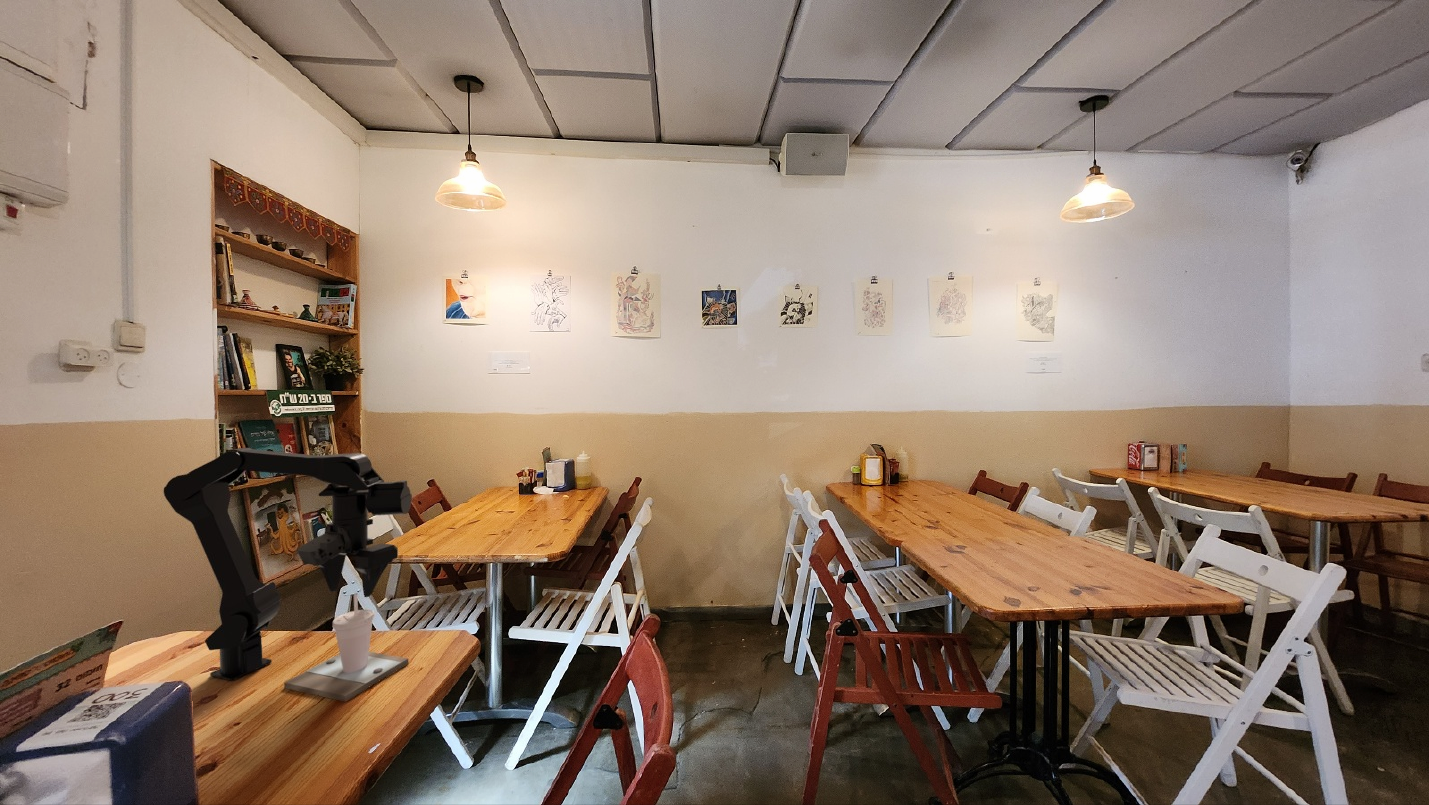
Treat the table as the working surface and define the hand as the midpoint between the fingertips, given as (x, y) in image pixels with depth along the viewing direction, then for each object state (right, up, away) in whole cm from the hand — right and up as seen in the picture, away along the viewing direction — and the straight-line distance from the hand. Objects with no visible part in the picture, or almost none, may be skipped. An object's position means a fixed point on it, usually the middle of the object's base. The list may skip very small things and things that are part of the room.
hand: (350, 593), depth 97 cm
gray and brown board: (+5, -13, -7) cm, 15 cm away
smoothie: (+6, -12, -6) cm, 14 cm away
